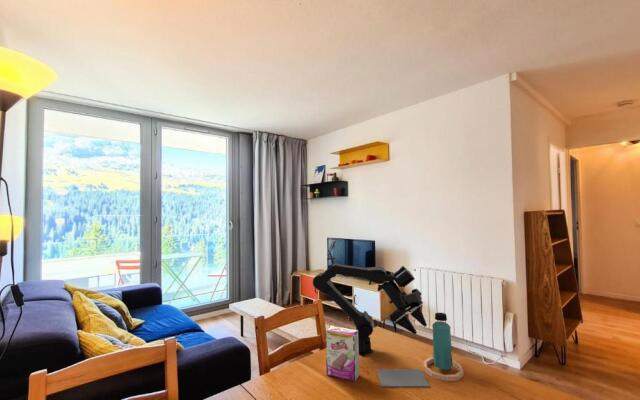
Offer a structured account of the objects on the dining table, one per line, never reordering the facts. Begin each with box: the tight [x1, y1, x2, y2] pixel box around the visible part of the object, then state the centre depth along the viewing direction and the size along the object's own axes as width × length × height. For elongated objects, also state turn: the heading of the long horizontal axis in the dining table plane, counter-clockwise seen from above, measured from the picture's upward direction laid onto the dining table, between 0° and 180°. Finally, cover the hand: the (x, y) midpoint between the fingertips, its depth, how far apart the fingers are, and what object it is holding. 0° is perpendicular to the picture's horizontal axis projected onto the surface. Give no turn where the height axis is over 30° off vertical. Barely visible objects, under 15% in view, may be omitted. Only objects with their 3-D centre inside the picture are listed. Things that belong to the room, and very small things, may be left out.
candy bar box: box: [325, 325, 360, 382], centre depth 108 cm, size 11×5×16 cm, turn 65°
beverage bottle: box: [431, 312, 454, 370], centre depth 110 cm, size 6×7×20 cm
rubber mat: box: [376, 368, 431, 388], centre depth 105 cm, size 16×10×1 cm, turn 87°
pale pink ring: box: [423, 356, 464, 382], centre depth 109 cm, size 13×14×2 cm
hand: (421, 329), depth 114 cm, fingers open, 9 cm apart
